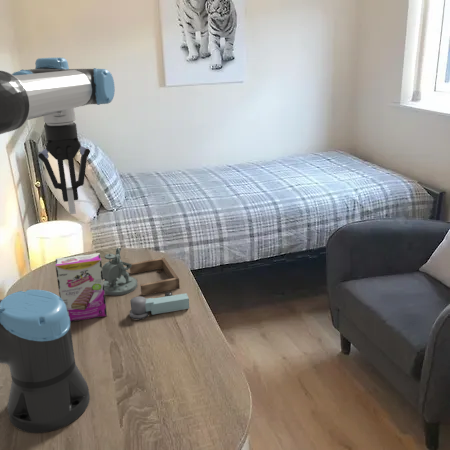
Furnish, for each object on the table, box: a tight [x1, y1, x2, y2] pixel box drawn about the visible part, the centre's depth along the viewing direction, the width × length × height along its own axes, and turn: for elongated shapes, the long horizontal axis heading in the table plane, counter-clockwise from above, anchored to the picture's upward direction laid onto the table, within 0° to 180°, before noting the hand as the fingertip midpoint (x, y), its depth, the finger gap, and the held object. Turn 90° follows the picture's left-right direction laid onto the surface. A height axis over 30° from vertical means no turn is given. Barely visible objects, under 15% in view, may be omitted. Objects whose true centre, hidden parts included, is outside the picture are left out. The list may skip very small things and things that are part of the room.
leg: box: [130, 293, 190, 315], centre depth 131 cm, size 4×15×4 cm, turn 106°
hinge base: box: [129, 291, 173, 321], centre depth 132 cm, size 12×7×2 cm, turn 112°
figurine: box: [102, 247, 138, 297], centre depth 144 cm, size 11×11×12 cm
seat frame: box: [129, 257, 181, 296], centre depth 149 cm, size 11×16×3 cm
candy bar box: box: [55, 252, 108, 323], centre depth 128 cm, size 11×5×16 cm, turn 108°
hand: (72, 212), depth 133 cm, fingers closed
